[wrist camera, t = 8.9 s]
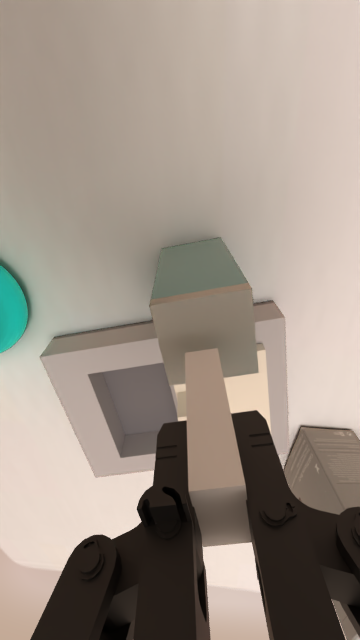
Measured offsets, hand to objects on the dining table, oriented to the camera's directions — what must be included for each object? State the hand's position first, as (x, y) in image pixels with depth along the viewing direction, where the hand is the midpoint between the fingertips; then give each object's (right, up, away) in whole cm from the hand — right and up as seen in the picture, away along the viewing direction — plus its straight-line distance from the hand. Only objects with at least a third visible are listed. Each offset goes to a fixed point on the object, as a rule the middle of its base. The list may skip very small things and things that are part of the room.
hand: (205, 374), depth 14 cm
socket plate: (-2, -4, +18) cm, 18 cm away
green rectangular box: (0, +7, +12) cm, 14 cm away
